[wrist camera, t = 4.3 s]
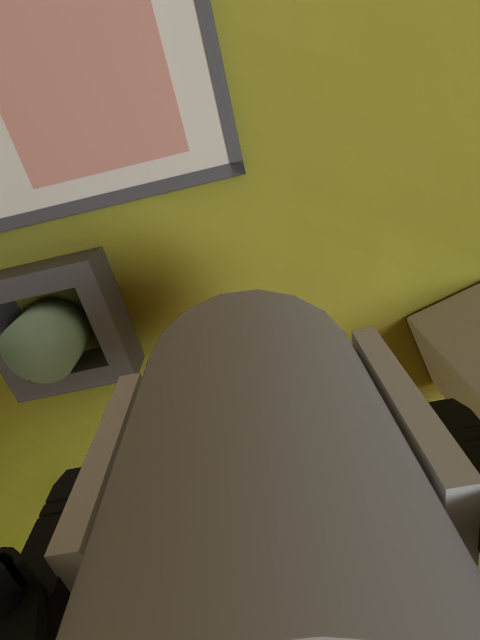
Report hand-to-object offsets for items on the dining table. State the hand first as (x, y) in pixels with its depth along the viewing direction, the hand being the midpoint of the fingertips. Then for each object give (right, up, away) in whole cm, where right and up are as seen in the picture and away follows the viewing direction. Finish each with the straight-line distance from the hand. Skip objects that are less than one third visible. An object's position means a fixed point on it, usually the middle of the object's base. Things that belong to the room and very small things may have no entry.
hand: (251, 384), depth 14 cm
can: (0, 0, +1) cm, 1 cm away
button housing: (-13, +2, +15) cm, 20 cm away
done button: (-13, +2, +14) cm, 19 cm away
